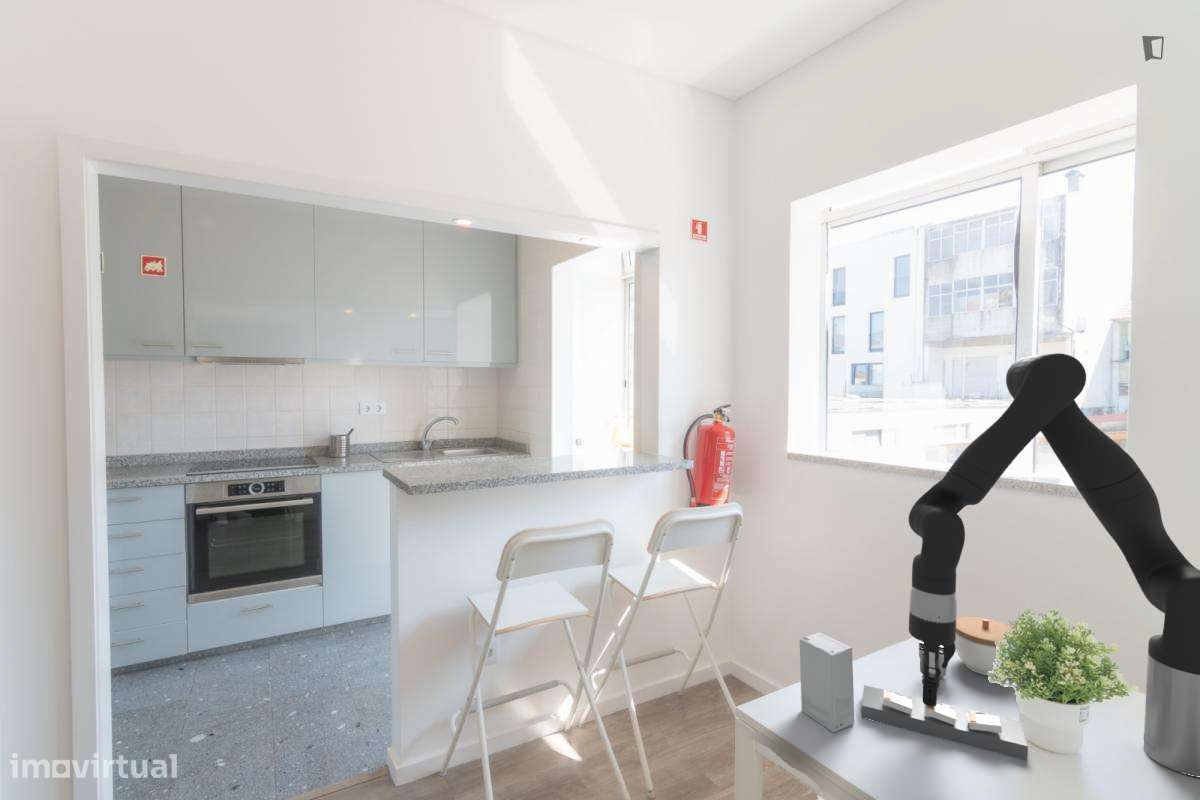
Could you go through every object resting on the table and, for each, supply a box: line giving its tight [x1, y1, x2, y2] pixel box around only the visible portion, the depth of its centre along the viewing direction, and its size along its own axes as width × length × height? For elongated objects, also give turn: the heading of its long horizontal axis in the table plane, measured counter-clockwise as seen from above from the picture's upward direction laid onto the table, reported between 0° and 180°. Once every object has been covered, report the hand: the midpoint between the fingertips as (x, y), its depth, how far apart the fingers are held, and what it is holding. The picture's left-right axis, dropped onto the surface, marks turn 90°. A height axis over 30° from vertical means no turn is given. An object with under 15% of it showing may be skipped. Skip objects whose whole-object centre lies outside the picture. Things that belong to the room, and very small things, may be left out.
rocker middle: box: [924, 704, 956, 725], centre depth 107 cm, size 5×3×1 cm
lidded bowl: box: [954, 616, 1011, 677], centre depth 129 cm, size 13×13×11 cm
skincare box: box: [799, 632, 855, 733], centre depth 111 cm, size 8×6×15 cm
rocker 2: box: [967, 713, 1002, 733], centre depth 103 cm, size 5×3×1 cm
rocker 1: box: [883, 689, 912, 714], centre depth 110 cm, size 5×3×1 cm
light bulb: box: [940, 643, 956, 679], centre depth 125 cm, size 6×6×10 cm
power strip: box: [860, 684, 1029, 761], centre depth 108 cm, size 26×8×3 cm, turn 62°
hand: (929, 703), depth 107 cm, fingers closed
